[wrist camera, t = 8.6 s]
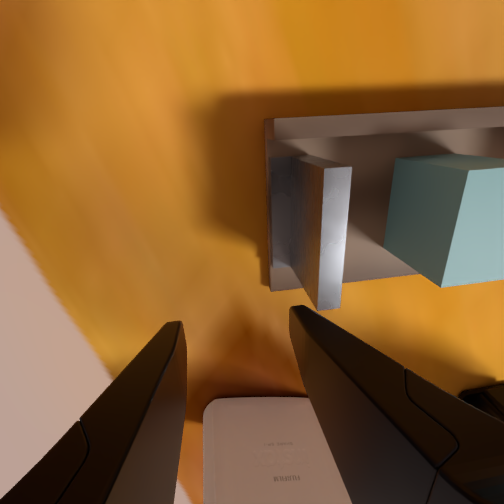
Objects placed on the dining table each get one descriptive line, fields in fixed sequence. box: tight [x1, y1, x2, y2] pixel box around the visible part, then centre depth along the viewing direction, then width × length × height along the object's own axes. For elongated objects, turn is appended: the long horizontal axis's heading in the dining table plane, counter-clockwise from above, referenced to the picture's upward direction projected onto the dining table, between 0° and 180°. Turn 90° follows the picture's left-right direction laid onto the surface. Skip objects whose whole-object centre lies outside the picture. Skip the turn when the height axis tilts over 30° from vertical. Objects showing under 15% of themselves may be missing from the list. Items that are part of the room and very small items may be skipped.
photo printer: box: [203, 397, 352, 504], centre depth 20 cm, size 10×4×12 cm, turn 80°
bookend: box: [269, 155, 352, 311], centre depth 16 cm, size 7×2×5 cm, turn 3°
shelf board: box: [264, 106, 504, 292], centre depth 17 cm, size 11×24×6 cm, turn 93°
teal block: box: [383, 153, 504, 288], centre depth 17 cm, size 6×4×6 cm, turn 3°
